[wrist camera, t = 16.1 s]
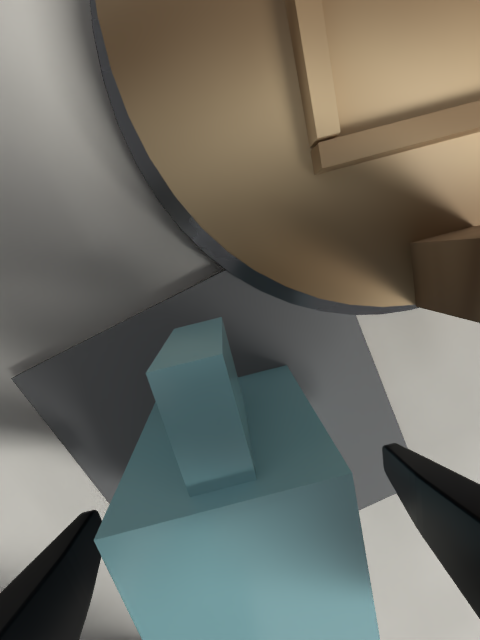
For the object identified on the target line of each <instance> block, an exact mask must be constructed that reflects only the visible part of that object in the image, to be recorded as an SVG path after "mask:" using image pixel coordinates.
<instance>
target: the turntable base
mask: <svg viewBox="0 0 480 640" xmlns="http://www.w3.org/2000/svg"><path fill="white" fill-rule="evenodd" d="M90 5H91V15H92V25H93V33H94V38H95V43H96V47H97V52H98V57H99V61H100V66H101V71H102V76H103V80H104V83H105V86H106V89H107V92H108V95H109V98H110V101H111V105H112V108H113V111H114V114H115V117H116V120H117V123H118V125H119V128H120V130H121V132H122V134H123V136H124V138H125V141H126V143H127V145H128V147H129V149H130V152H131V154H132V156H133V158H134V160H135V162H136V164H137V166H138V168H139V169H140V171H141V173H142V174H143V176H144V178H145V179H146V181H147V183H148V184H149V186H150V188H151V189H152V191H153V192H154V194H155V196H156V197H157V199H158V200H159V202H160V203H161V204H162V205H163V207H164V208H165V209H166V211H167V212H168V213H169V214H170V216H171V217H172V218H173V219H174V221H175V222H176V223H177V225H178V226H179V227H180V228H181V230H182V231H183V232H184V233H185V234H186V235H187V236H188V237H189V238H190V239H191V240H192V241H193V242H195V243H196V244H197V245H198V246H199V247H200V248H201V249H202V250H203V251H204V252H205V253H206V254H207V255H208V256H209V257H210V258H212V259H213V260H214V261H216V262H217V263H218V264H220V265H221V266H222V267H223V268H225V269H226V270H227V271H229V272H230V273H231V274H233V275H234V276H236V277H237V278H239V279H241V280H243V281H244V282H246V283H248V284H250V285H251V286H253V287H255V288H256V289H258V290H260V291H262V292H264V293H266V294H269V295H271V296H274V297H276V298H279V299H281V300H283V301H286V302H288V303H291V304H295V305H298V306H302V307H306V308H310V309H314V310H318V311H323V312H331V313H340V314H348V315H368V314H386V313H393V312H399V311H406V310H412V309H415V308H419V307H416V305H403V306H389V307H376V306H361V305H349V304H344V303H339V302H334V301H329V300H325V299H320V298H317V297H314V296H311V295H308V294H305V293H302V292H300V291H297V290H294V289H291V288H288V287H286V286H284V285H282V284H280V283H278V282H276V281H274V280H272V279H270V278H268V277H266V276H264V275H262V274H260V273H259V272H257V271H255V270H253V269H252V268H250V267H249V266H247V265H246V264H245V263H243V262H242V261H240V260H239V259H237V258H236V257H235V256H233V255H232V254H230V253H229V252H227V251H226V250H225V249H224V248H223V247H222V246H221V245H220V244H219V243H218V242H216V241H215V240H214V239H213V238H212V237H211V236H210V235H209V234H208V233H207V232H205V231H204V230H203V229H202V228H201V227H200V225H199V224H198V223H197V222H196V221H195V220H194V218H193V217H192V216H191V215H190V214H189V212H188V211H187V210H186V209H185V208H184V207H183V205H182V204H181V203H180V202H179V201H178V199H177V198H176V197H175V195H174V194H173V193H172V191H171V190H170V188H169V187H168V185H167V183H166V182H165V180H164V179H163V177H162V176H161V174H160V173H159V171H158V170H157V168H156V167H155V165H154V164H153V162H152V161H151V159H150V158H149V156H148V154H147V152H146V150H145V148H144V146H143V144H142V142H141V140H140V138H139V136H138V134H137V132H136V130H135V128H134V126H133V124H132V122H131V120H130V118H129V116H128V113H127V111H126V108H125V105H124V103H123V100H122V97H121V95H120V92H119V89H118V86H117V84H116V81H115V78H114V76H113V73H112V70H111V67H110V63H109V59H108V55H107V51H106V47H105V43H104V39H103V36H102V32H101V28H100V24H99V20H98V15H97V8H96V1H95V0H90Z"/></svg>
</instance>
